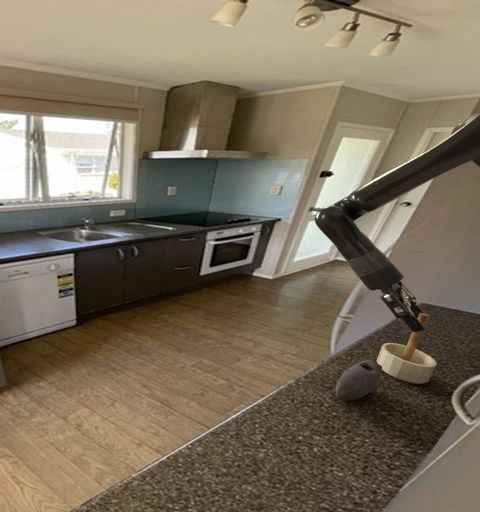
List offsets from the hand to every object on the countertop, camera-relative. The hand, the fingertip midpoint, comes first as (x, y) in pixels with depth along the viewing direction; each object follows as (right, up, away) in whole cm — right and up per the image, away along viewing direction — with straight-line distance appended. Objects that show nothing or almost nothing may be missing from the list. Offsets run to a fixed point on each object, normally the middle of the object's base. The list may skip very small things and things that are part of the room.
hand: (421, 325), depth 71 cm
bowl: (0, -13, +4) cm, 14 cm away
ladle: (-1, -13, +4) cm, 13 cm away
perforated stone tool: (-20, -16, -3) cm, 25 cm away
